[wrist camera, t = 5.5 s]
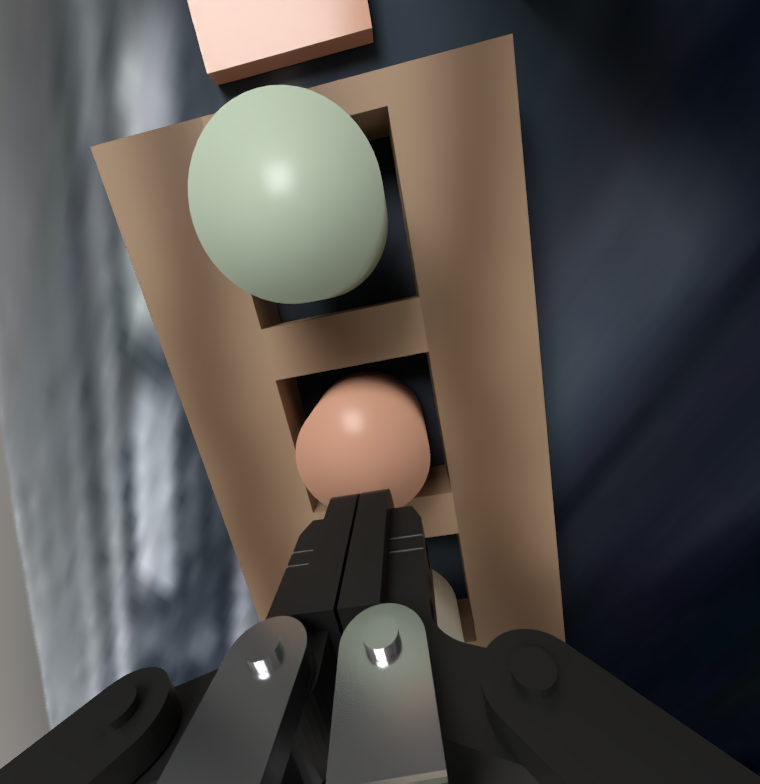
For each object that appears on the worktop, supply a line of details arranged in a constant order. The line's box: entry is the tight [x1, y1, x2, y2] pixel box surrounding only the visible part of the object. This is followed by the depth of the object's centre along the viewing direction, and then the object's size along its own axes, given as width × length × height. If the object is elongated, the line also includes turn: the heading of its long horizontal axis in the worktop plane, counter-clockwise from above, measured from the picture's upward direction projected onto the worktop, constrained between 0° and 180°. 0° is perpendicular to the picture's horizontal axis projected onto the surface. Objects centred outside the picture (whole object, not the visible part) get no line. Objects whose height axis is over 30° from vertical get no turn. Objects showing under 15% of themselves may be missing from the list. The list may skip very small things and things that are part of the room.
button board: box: [91, 34, 565, 648], centre depth 16 cm, size 14×24×2 cm, turn 11°
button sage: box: [188, 85, 388, 304], centre depth 11 cm, size 5×5×4 cm
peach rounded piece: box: [295, 371, 430, 508], centre depth 15 cm, size 5×5×4 cm
